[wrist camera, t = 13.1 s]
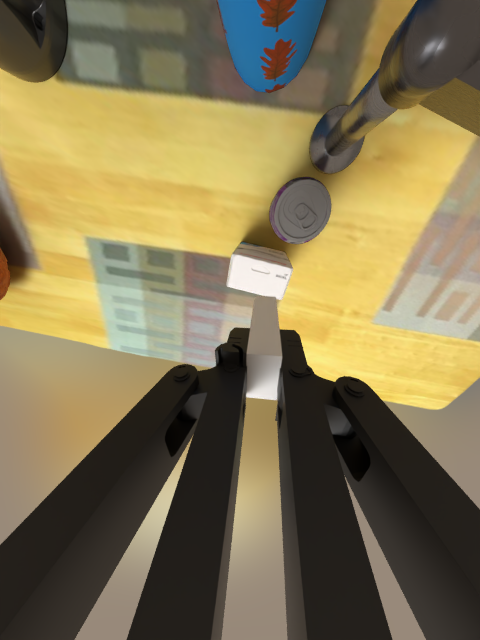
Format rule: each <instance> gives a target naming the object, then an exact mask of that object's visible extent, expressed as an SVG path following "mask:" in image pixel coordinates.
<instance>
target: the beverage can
mask: <svg viewBox="0 0 480 640" xmlns="http://www.w3.org/2000/svg"><path fill="white" fill-rule="evenodd" d="M330 213H331V199H330V195H329V193H328V191H327V189H326V187H325V186H324V185H323V184H322V183H321V182H320V181H318V180H316V179H314V178H311V177H300V178H296V179H293V180H291V181H289V182H288V183H286V184H285V185H284V186H283V187H282V188H281V189H280V190H279V191H278V193H277V194H276V196H275V198H274V199H273V201H272V203H271V206H270V210H269V219H270V223H271V225H272V228H273V230H274V232H275V233H276V235H277V236H278V237H279V238H280V239H282V240H283V241H285V242H288V243H291V244H301V243H305V242H308V241H310V240H312V239H313V238H315V237H316V236H317V235H318V234H319V233H320V232H321V231H322V230H323V229H324V227H325V226H326V224H327V222H328V220H329V217H330Z"/></svg>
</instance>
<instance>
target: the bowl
mask: <svg viewBox="0 0 480 640" xmlns="http://www.w3.org/2000/svg"><path fill="white" fill-rule="evenodd" d="M7 262H8V261H7V259H6V257H5V255H4V254H3V252H2V249H1V247H0V300H1V299H2V298H3V297H4V296H5V295H6V293H7V290H8V287H9V284H10V271H9V270H8V265H7Z"/></svg>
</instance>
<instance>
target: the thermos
mask: <svg viewBox="0 0 480 640" xmlns="http://www.w3.org/2000/svg"><path fill="white" fill-rule="evenodd" d="M325 3H326V0H217V4H218V8H219V13H220V17H221V21H222V25H223V28H224V32H225V36H226V39H227V43H228V46H229V50H230V53H231V56H232V59H233V62H234V66H235V68H236V70H237V71H238V73H239V75H240V76H241V78H242V79H243V81H244V83H246V84H247V85H249V86H250V87H251V88H253V89H254V90H256V91H260V92H268V93H270V92H273V91H276V90H278V89H281V88H284V87H285V86H286V85H287V84H288V83H289V82H290V81H291V80H292V79H294V78H295V77H296V76H297V74H298V72H299V71H300V69H301V68H302V66H303V64H304V63H305V61H306V59H307V57H308V55H309V52H310V49H311V46H312V43H313V40H314V37H315V35H316V31H317V28H318V25H319V22H320V19H321V16H322V13H323V10H324V7H325Z"/></svg>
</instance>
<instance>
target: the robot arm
mask: <svg viewBox="0 0 480 640" xmlns="http://www.w3.org/2000/svg"><path fill="white" fill-rule="evenodd" d="M66 39H67V22H66V11H65V5H64V0H0V68H1V69H3V70H4V71H6V72H8V73H10V74H12V75H14V76H15V77H17V78H19V79H22V80H25V81H28V82H42V81H45V80H47V79H49V78H50V77H52V76H53V75H54V74H55V73H56V71H57V70H58V68H59V66H60V64H61V62H62V60H63V57H64V53H65V48H66ZM215 357H216V366H215V367H213V368H211V369H208V370H202V371H197V369H196V368H195V367H194V366H192V365H188V364H183V365H178V366H176V367H174V368H172V369H171V370H170V371H168V372H167V373H166V374H165V375H164V377H162V379H161V380H160V381H159V382H158V383H157V384H156V385H155V386H154V387H153V388H152V389H151V390H150V391H149V392H148V393H147V394H146V395H145V396H144V397H143V398H142V399H141V400H140V401H139V402H138V403H137V405H136V406H134V407H133V408H132V409H131V411H130V412H129V413H128V414H127V415H126V416H125V417H124V418H123V419H122V420H121V421H120V422H119V423H118V424H117V425H116V426H115V427H114V428H113V429H112V430H111V431H110V432H109V433H108V434H107V435H106V436H105V437H104V438H103V439H102V440H101V442H100V443H99V444H98V445H97V446H96V447H95V448H94V449H93V450H92V451H91V452H90V453H89V454H88V455H87V456H86V457H85V458H84V459H83V460H82V461H81V462H80V463H79V464H78V465H77V466H76V467H75V468H74V469H73V471H71V473H70V474H69V475H68V476H67V477H66V478H65V479H64V480H63V481H62V482H61V483H60V484H59V485H58V486H57V487H56V488H55V489H54V490H53V491H52V492H51V493H50V494H49V495H48V496H47V497H46V498H45V499H44V501H42V502H41V503H40V505H39V506H38V507H37V508H36V509H35V510H34V511H33V512H32V513H31V514H30V515H29V516H28V517H27V518H26V519H25V520H24V521H23V522H22V523H21V524H20V525H19V526H18V527H17V528H16V529H15V531H13V533H11V535H10V536H9V537H8V538H7V539H6V540H5V541H4V542H3V543H2V544H1V545H0V640H74V639H75V638H76V636H77V634H78V632H79V631H80V629H81V627H82V625H83V624H84V622H85V620H86V619H87V617H88V615H89V613H90V611H91V610H92V608H93V607H94V605H95V603H96V601H97V599H98V598H99V596H100V594H101V593H102V591H103V589H104V588H105V586H106V584H107V582H108V581H109V579H110V577H111V575H112V574H113V572H114V570H115V569H116V567H117V565H118V563H119V561H120V560H121V558H122V557H123V555H124V553H125V551H126V550H127V548H128V546H129V545H130V543H131V541H132V539H133V537H134V536H135V534H136V532H137V531H138V529H139V527H140V526H141V524H142V522H143V520H144V519H145V517H146V515H147V513H148V512H149V510H150V508H151V507H152V505H153V503H154V501H155V500H156V498H157V496H158V495H159V493H160V491H161V489H162V488H163V486H164V484H165V482H166V481H167V479H168V477H169V476H170V474H171V472H172V470H173V469H174V467H175V465H176V464H177V462H178V460H179V458H180V457H181V455H182V453H183V451H184V450H185V448H186V446H187V445H188V443H189V441H190V439H191V438H192V436H193V438H192V441H191V444H190V447H189V450H188V453H187V457H186V460H185V463H184V466H183V469H182V472H181V475H180V478H179V481H178V484H177V487H176V490H175V493H174V496H173V499H172V502H171V506H170V509H169V512H168V515H167V518H166V521H165V524H164V527H163V530H162V533H161V536H160V539H159V542H158V545H157V548H156V551H155V555H154V558H153V561H152V564H151V567H150V570H149V573H148V576H147V579H146V582H145V585H144V588H143V591H142V594H141V597H140V600H139V603H138V607H137V609H136V613H135V616H134V619H133V622H132V625H131V628H130V631H129V634H128V637H127V640H221V637H222V628H223V617H224V609H225V599H226V589H227V579H228V569H229V561H230V560H229V559H230V550H231V542H232V532H233V523H234V513H235V504H236V494H237V485H238V475H239V466H240V456H241V447H242V437H243V427H244V418H245V409H246V397H251V398H261V399H272V400H277V399H278V405H277V412H276V419H275V420H276V421H277V426H278V447H279V469H280V487H281V510H282V532H283V551H284V552H283V553H284V573H285V594H286V614H287V636H288V640H392V637H391V633H390V630H389V626H388V623H387V620H386V616H385V613H384V609H383V606H382V603H381V599H380V596H379V592H378V589H377V586H376V583H375V579H374V575H373V572H372V569H371V565H370V562H369V558H368V555H367V552H366V548H365V545H364V541H363V538H362V534H361V531H360V527H359V524H358V521H357V517H356V514H355V510H354V507H353V504H352V500H351V497H350V493H349V490H348V487H347V483H346V480H345V477H346V479H347V481H348V483H349V485H350V487H351V489H352V491H353V493H354V495H355V497H356V499H357V501H358V503H359V505H360V507H361V509H362V511H363V513H364V515H365V517H366V519H367V521H368V523H369V525H370V527H371V529H372V531H373V533H374V535H375V537H376V539H377V541H378V543H379V545H380V547H381V549H382V551H383V553H384V555H385V557H386V560H387V561H388V564H389V566H390V567H391V570H392V572H393V574H394V575H395V578H396V579H397V582H398V583H399V585H400V588H401V590H402V592H403V594H404V596H405V598H406V599H407V602H408V604H409V606H410V608H411V609H412V611H413V614H414V616H415V618H416V620H417V622H418V624H419V626H420V628H421V630H422V632H423V634H424V636H425V638H426V640H480V509H479V508H478V507H477V506H476V505H475V504H474V503H473V501H472V500H471V499H470V498H469V497H468V496H467V495H466V494H465V492H464V491H463V490H462V489H461V488H460V487H459V486H458V485H457V483H456V482H455V481H454V480H453V479H452V478H451V477H450V476H449V475H448V473H447V472H446V471H445V470H444V469H443V468H442V467H441V466H440V465H439V463H438V462H437V461H436V460H435V459H434V458H433V457H432V456H431V455H430V453H429V452H428V451H427V450H426V449H425V448H424V447H423V446H422V444H421V443H420V442H419V441H418V440H417V439H416V438H415V437H414V436H413V434H412V433H411V432H410V431H409V430H408V429H407V428H406V427H405V425H403V423H402V422H401V421H400V420H399V419H398V418H397V417H396V415H395V414H394V413H393V412H392V411H391V410H390V409H389V408H388V407H387V406H386V404H385V403H384V402H383V401H382V400H381V399H380V398H379V396H378V395H377V394H376V393H375V392H374V391H373V390H372V389H371V388H370V387H369V386H368V385H367V384H366V383H365V382H363V381H361V380H359V379H357V378H353V377H347V376H343V377H340V378H338V379H337V380H336V382H333V381H330V380H326V379H323V378H321V377H319V376H317V375H315V374H314V372H313V370H312V368H310V367H309V366H308V365H307V362H306V358H305V354H304V351H303V347H302V343H301V339H300V336H299V334H298V333H297V332H296V331H295V330H280V329H279V321H278V312H277V303H276V297H272V296H255V298H254V305H253V312H252V319H251V326H250V328H234V329H233V330H232V331H231V332H230V334H229V338H228V341H227V343H224V344H221V345H220V346H218V347H217V348H216V350H215ZM193 434H194V435H193ZM344 475H345V476H344Z"/></svg>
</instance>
